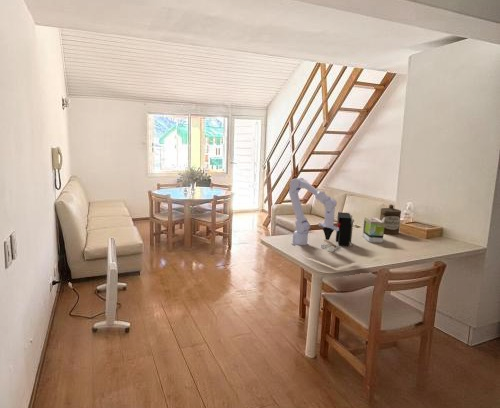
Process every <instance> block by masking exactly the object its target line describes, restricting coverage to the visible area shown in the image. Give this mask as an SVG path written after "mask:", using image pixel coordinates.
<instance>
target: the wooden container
mask: <svg viewBox="0 0 500 408" xmlns="http://www.w3.org/2000/svg"><path fill="white" fill-rule="evenodd" d="M401 214H402V210H400V209H397V208H394V205H393V204H389V205H388V207H383V208H381V209H380V215H379V219H380V220H382V221H383V222H385V226H384V234H383V235H388V236H396V235H399V233H400V226H401V225H400V224H401Z"/></svg>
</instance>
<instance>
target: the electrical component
mask: <svg viewBox="0 0 500 408" xmlns="http://www.w3.org/2000/svg"><path fill="white" fill-rule="evenodd" d="M336 221H337V222H336V227H339V231H335V232H336V233H335V242H336V243H338V246H340V247H352V246H353V243H352V238H353V227H354V226H353V225H354V222H355V220H354V218H353V214H351V213H350V212H341V211H339V212H337V220H336Z"/></svg>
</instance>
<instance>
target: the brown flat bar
mask: <svg viewBox="0 0 500 408" xmlns="http://www.w3.org/2000/svg"><path fill="white" fill-rule="evenodd" d="M324 242H325V243H326V244H330V245H332V246H334V247H335V248H336V247H337V246H338V245H337V244H334V243H332V242H331V241H329V240H326V239H324Z"/></svg>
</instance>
